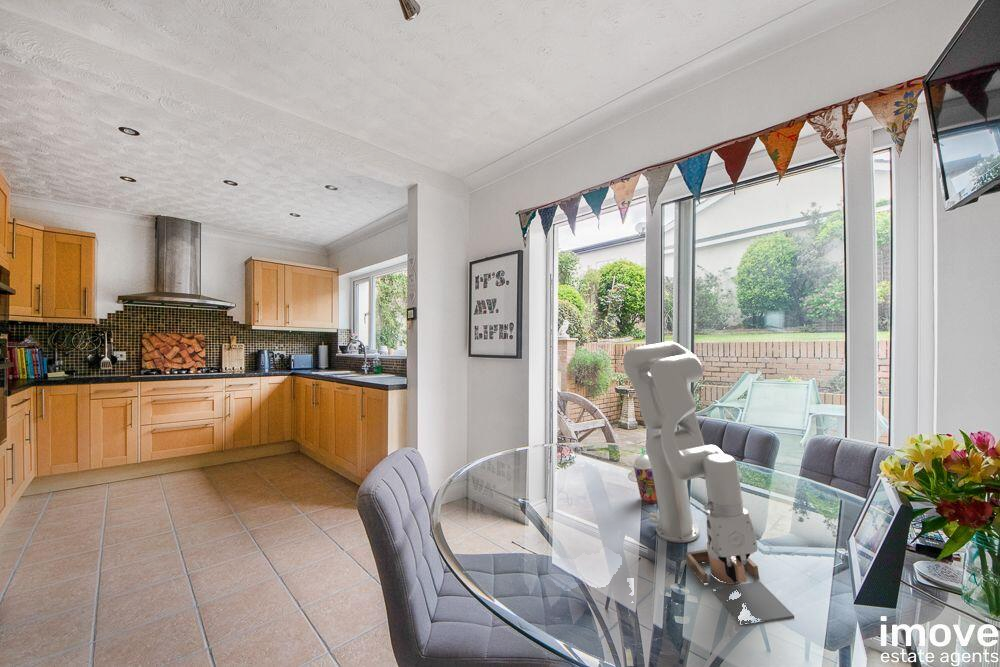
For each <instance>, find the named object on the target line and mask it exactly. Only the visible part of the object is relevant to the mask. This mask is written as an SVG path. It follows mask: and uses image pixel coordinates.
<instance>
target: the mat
mask: <svg viewBox="0 0 1000 667" xmlns="http://www.w3.org/2000/svg"><path fill="white" fill-rule="evenodd" d="M715 589H716V591H714V592H715V593H716V594H715V593H714V592H713V593H714V594H715V596H716V597H717V598H718V599H719V600H720V602H721V601H722V602H723V603H724V604H725V606H726V607H725V606H724V607H725V608H726V610H728V612H729V613H730V614H731V616H732V615H733V616H734V617H735V618H736V619H735V618H734V617H733V616H732V617H733V618H734V619H735V621H736V620H737V621H738V620H739V619H738V616H739V615H740V612H741V611H742V609H743V607H742V604H743V603H744V605H746V607H747V610H749V611H750V613H751V615H752V616H754V617H755V618H757V619H758V618H759V619H761V620H760V621H767V622H773V621H779V620H784V619H791V618H792V619H793V618H795V615H794V614H793V612H791V611H790V610H789V609H788V607H786V606H785V605H784V604H783V603H782V602H781V601H780V600H779V599H778V598H777V597H776V596H775V595H774V594H773V593H772V592H771V591H770V590H769V589H768V588H767V587H766V586H765V584H763V583H762V582H761V581H755V582H748V583H747V582H746V583H741V584H735V585H728V586H723V587H717V588H715ZM736 590H737V591H738V592H739V594H740V593H741V596H740V597H739V598H737V599H734V600H732V599H730V600H729V596H730V594H732V592H733V593H734V591H736ZM737 591H736V592H737ZM727 600H728V601H727ZM722 602H721V603H722ZM723 603H722V604H723ZM745 603H746V604H745ZM724 604H723V605H724ZM746 607H745V609H746ZM751 615H750V616H751ZM757 619H756V620H757ZM737 621H736V622H737ZM757 621H758V620H757ZM738 622H739V623H740V620H739V621H738ZM738 622H737V623H738ZM751 622H752V621H751V620H749V621H748V620H747V621H744V620H742V621H741V624H745V623H751ZM754 622H755V621H754ZM739 623H738V624H739Z"/></svg>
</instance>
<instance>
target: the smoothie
mask: <svg viewBox="0 0 1000 667" xmlns="http://www.w3.org/2000/svg"><path fill="white" fill-rule="evenodd" d="M641 452H642V454H639V455H638V456H637V457H636V458H635V459H634V462H633V463H632V464H633V469H634V473H635V477H636V482H637V487H638V491H639V496H640V498H641V500H642V502H644V503H646V502H647V503H646V504H654V503H653V502H655V503H657V497H656V490H655V484H654V478H653V473H652V468H651V464H650V461H649V458H648V455H647V453H646V454H645V450H644V447H641Z"/></svg>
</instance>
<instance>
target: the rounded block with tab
mask: <svg viewBox="0 0 1000 667" xmlns="http://www.w3.org/2000/svg"><path fill="white" fill-rule="evenodd" d="M706 548H707V549H708V551H709V544H708V541H707V542H706ZM708 556H709V555H708ZM731 559H732V563H733V566H734V567H735V573H736V579H737V583H741V584H743V583H747V577H746V576H747V575H745V572H746V568H745V569H744V565H743V564H742V563H741V562H740V561H739V560H738V559H737V558H736V557H735V556H732V557H731ZM708 563H709V568H710V574H712V575H713V576H714V577H716V578H717V579H719V580H720V581H723V582H726V583H734V584H737V583H736V582H733V580H732V579H731V578H730V577H728V576H727V574H726V570H725V563H724V562H722V561H721V560H719V559H712V558H711V557H710V556H709V562H708ZM712 575H711V576H712ZM726 583H725V584H726Z"/></svg>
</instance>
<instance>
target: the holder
mask: <svg viewBox="0 0 1000 667" xmlns="http://www.w3.org/2000/svg"><path fill="white" fill-rule="evenodd" d="M685 558H686V563H687V566H688V567H689V568H690V567H691V568H690V569H691V570H692V571H694V572H695V573H696V574H695V573H694V572H693V573H694V574H695V576H696V577H697V576H698V577H699V578H700V579H701V580H702V582H703V583H708V584H709V579H708V578H709V577H708V574H707V572H706V571H705V570H704V568H703V567H702V566H701V565H700V564H703V563H702V562H707V561H709V556H708V549H701V550H695V551H689V552H685ZM698 563H700V564H698ZM707 563H708V562H707ZM758 568H759V567H758V565H757V564H756V563H755V562H754V561H753V560H752V559H751V558H750V556H749V557H748V559H747V560H746V564H745V570H746V571H747V572H749V573H750V575H751V576H753V577H754V578H755V579H757V578H758V579H759V578H760V574H759V569H758ZM698 577H697V578H698ZM699 578H698V579H699ZM700 579H699V580H700ZM702 582H701V583H702ZM703 583H702V584H703Z"/></svg>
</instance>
